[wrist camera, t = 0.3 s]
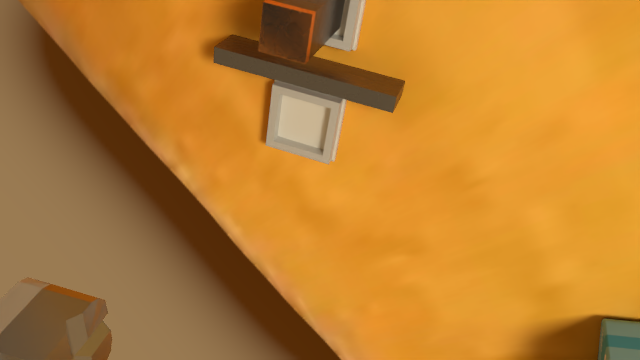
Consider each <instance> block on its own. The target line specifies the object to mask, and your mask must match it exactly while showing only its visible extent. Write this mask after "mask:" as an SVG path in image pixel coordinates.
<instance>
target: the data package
mask: <svg viewBox="0 0 640 360" xmlns="http://www.w3.org/2000/svg"><path fill="white" fill-rule="evenodd" d="M598 360H640V322H636V321H625V320H615V319H603V320H602V323H601V332H600V342H599V352H598Z"/></svg>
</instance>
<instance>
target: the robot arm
mask: <svg viewBox="0 0 640 360" xmlns="http://www.w3.org/2000/svg"><path fill="white" fill-rule="evenodd" d="M107 314H108V311H107V306H106V302H105V300H103V299H100V298H96V297H93V296H90V295H86V294H83V293H80V292H76V291H73V290H70V289H66V288H63V287H60V286H56V285H53V284H50V283H46V282H42V281H39V280H35V279H32V278H25V279H23V280H21V281H19V282H17V283H16V284H15V285H14V286H13V287H12V288H11V289H10V290H9V291H8V292H7V293H6V294H5V295H4V296H3V297H2V298H1V299H0V360H107V359H108V357H109V354H110V351H111V344H112V335H111V330H110V329H109V327H108V326H107V325H106V324H105V323H104V321H103V319H104V318H105V316H106V315H107Z"/></svg>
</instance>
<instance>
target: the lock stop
mask: <svg viewBox="0 0 640 360" xmlns="http://www.w3.org/2000/svg"><path fill="white" fill-rule="evenodd" d="M344 3H345V0H265V1H264V2H263V9H262V19H261V30H260V40H259V50H258V51H260V52H263V53H267V54H271V55H274V56H278V57H282V58H285V59H289V60H293V61H296V62H300V63H304V64H306V63H307V62H308V61H309V59H310V58H311V57H312V56H313V55H314V54H315V53H316V52H317V51H318V50H319V49H320V48H321V47H322V46H323V45H324V44H325V43H326V42H327V41H328V40H329V39H330V38H331V37H332V36H333V34H334V33H335V32H336V31H337V30H338V29H339V28H340V26H341V20H342V15H343V9H344Z"/></svg>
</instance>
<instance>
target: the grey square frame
mask: <svg viewBox="0 0 640 360" xmlns="http://www.w3.org/2000/svg"><path fill="white" fill-rule="evenodd" d="M365 4H366V0H345V3H344V9H343V15H342V20H341V26H340V28H339V29H338V30H337V31H336V32H335V33H334V34H333V36H332V37H331V38H330V39H329V40H328V41H327V42H326V43H325V44H324V45H327V46H331V47H335V48H338V49H342V50H346V51H351V50H356V49H357V45H358V40H359V35H360V29H361V24H362V19H363V14H364V9H365Z"/></svg>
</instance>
